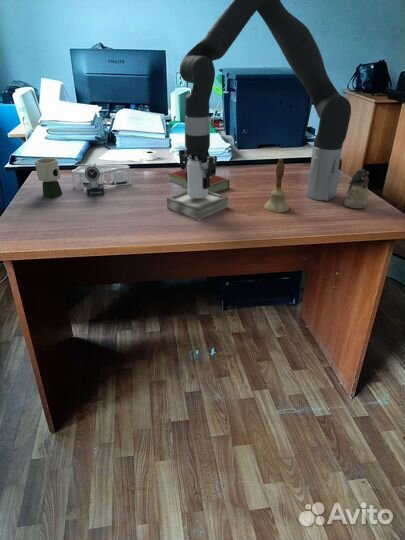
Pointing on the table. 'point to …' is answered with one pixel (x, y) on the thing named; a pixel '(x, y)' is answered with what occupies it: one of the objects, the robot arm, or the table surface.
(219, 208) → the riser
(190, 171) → the can
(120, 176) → the skeletal toy car
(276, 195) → the hand bell
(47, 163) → the character mug
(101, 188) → the watch
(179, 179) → the hardcover book
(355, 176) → the figurine
